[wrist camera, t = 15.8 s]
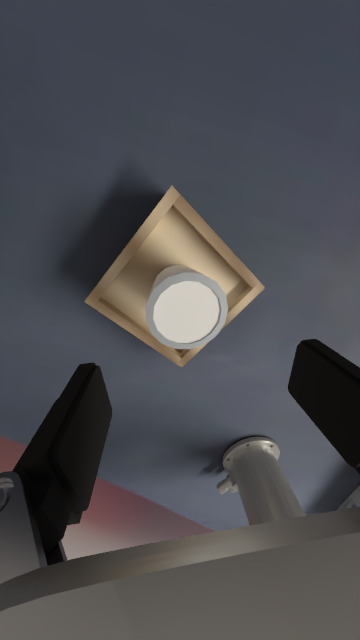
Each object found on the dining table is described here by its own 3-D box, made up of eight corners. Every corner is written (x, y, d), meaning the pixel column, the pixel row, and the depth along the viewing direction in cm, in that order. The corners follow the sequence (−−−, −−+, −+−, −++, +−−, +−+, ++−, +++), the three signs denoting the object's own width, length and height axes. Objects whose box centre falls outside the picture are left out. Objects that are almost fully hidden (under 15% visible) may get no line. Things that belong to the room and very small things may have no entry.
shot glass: (134, 295, 21) (127, 322, 15) (173, 244, 20) (183, 251, 13) (180, 327, 24) (191, 362, 18) (218, 285, 22) (245, 307, 16)
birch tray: (178, 346, 30) (181, 367, 25) (98, 288, 25) (84, 301, 20) (245, 278, 26) (265, 287, 22) (168, 196, 21) (171, 185, 17)
